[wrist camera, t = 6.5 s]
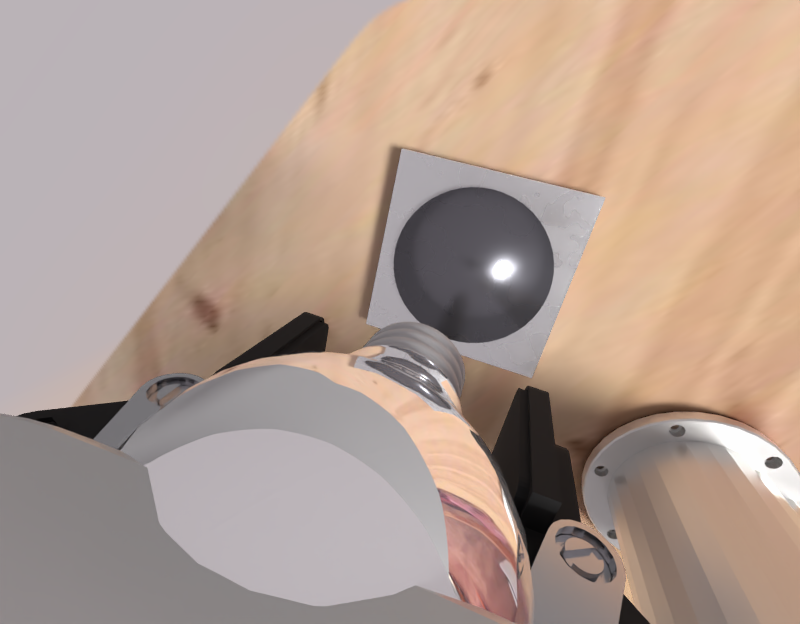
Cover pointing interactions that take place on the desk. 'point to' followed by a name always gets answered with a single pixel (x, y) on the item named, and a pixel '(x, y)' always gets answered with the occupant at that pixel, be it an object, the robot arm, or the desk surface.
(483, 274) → the duct plate
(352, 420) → the light bulb
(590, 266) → the desk surface
